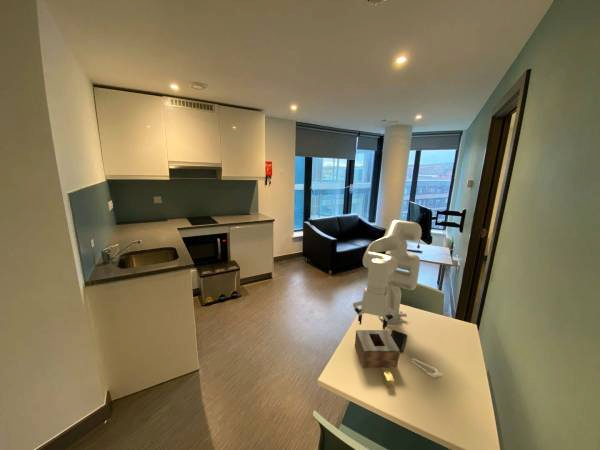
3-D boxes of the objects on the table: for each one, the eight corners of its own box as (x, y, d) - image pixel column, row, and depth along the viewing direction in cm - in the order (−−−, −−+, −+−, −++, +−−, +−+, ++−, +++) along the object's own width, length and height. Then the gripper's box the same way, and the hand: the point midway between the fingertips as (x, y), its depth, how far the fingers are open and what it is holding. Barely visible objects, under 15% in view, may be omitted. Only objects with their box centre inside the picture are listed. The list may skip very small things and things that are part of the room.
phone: (407, 334, 130) (402, 351, 118) (407, 336, 131) (402, 353, 118) (392, 329, 134) (386, 345, 122) (392, 331, 135) (386, 347, 122)
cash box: (385, 345, 123) (387, 330, 121) (397, 367, 109) (399, 350, 107) (354, 345, 122) (356, 330, 120) (362, 367, 109) (364, 350, 107)
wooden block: (387, 375, 105) (388, 368, 105) (393, 387, 99) (394, 380, 99) (381, 375, 105) (382, 368, 104) (386, 387, 99) (387, 380, 99)
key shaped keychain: (408, 366, 112) (408, 362, 111) (411, 360, 115) (412, 357, 115) (439, 381, 103) (440, 378, 103) (442, 374, 107) (442, 371, 106)
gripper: (397, 288, 100) (392, 324, 104) (355, 281, 105) (352, 316, 108) (399, 296, 93) (394, 335, 97) (354, 288, 98) (350, 325, 101)
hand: (371, 325), depth 102 cm, fingers open, 9 cm apart
